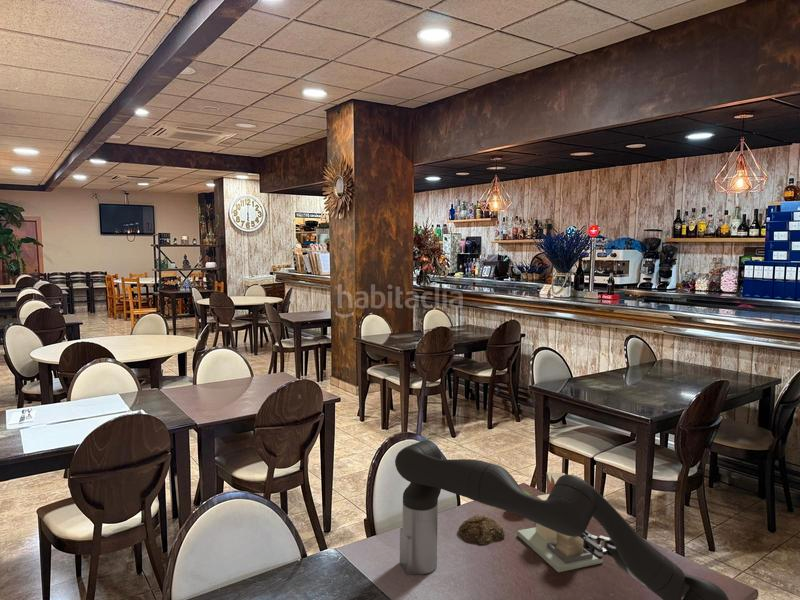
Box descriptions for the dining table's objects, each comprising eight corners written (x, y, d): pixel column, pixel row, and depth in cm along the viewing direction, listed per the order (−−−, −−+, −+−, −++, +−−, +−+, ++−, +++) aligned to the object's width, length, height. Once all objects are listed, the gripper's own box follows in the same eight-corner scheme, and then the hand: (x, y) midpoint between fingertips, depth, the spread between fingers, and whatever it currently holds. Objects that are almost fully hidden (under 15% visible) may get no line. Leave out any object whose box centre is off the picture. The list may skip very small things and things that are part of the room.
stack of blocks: (545, 498, 189) (546, 463, 188) (564, 499, 188) (565, 464, 187) (555, 529, 168) (557, 490, 167) (577, 531, 167) (578, 491, 166)
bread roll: (483, 520, 174) (484, 505, 173) (510, 538, 163) (511, 522, 162) (450, 530, 167) (450, 515, 167) (475, 550, 157) (475, 533, 156)
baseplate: (558, 572, 145) (559, 526, 144) (517, 535, 164) (518, 494, 163) (602, 562, 150) (604, 518, 149) (557, 527, 169) (559, 487, 168)
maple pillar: (567, 558, 149) (568, 519, 148) (556, 549, 154) (557, 511, 153) (582, 555, 151) (584, 516, 150) (571, 546, 155) (572, 508, 154)
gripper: (666, 542, 129) (617, 510, 144) (617, 552, 124) (571, 518, 139) (664, 573, 130) (615, 538, 145) (615, 584, 125) (569, 547, 140)
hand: (594, 528), depth 142 cm, fingers open, 8 cm apart
